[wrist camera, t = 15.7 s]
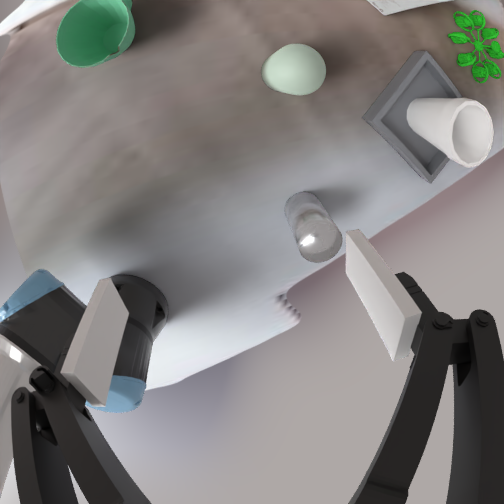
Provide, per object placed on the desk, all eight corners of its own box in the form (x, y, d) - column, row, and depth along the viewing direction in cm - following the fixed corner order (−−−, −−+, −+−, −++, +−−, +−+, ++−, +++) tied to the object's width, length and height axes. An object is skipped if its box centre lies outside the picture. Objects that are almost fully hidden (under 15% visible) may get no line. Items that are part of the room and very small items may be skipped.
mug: (140, 71, 34) (116, 70, 26) (82, 66, 32) (48, 67, 24) (169, -18, 27) (153, -41, 19) (108, -19, 25) (80, -37, 17)
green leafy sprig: (439, -1, 28) (464, -6, 22) (492, 23, 28) (516, 23, 22) (445, 73, 36) (470, 77, 30) (495, 89, 36) (519, 95, 30)
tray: (420, 176, 46) (430, 183, 43) (362, 117, 40) (371, 121, 37) (465, 115, 40) (477, 119, 37) (414, 51, 34) (426, 50, 31)
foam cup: (427, 79, 36) (480, 89, 25) (449, 124, 40) (499, 145, 29) (389, 107, 39) (438, 122, 28) (414, 152, 43) (461, 180, 32)
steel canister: (305, 231, 51) (322, 269, 41) (277, 213, 48) (289, 249, 39) (327, 204, 48) (350, 237, 39) (299, 185, 46) (318, 215, 37)
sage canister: (286, 100, 39) (303, 105, 29) (252, 75, 36) (259, 72, 27) (311, 70, 36) (336, 68, 27) (278, 45, 34) (294, 33, 25)
